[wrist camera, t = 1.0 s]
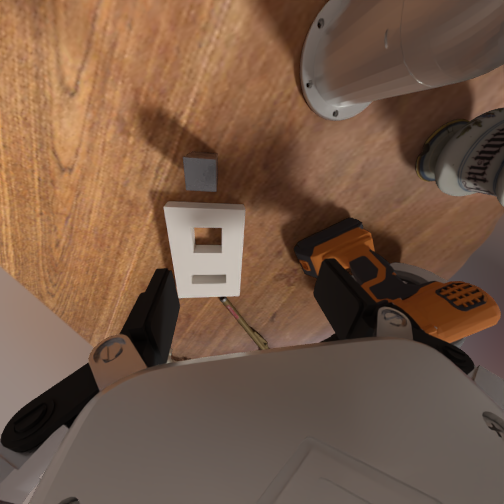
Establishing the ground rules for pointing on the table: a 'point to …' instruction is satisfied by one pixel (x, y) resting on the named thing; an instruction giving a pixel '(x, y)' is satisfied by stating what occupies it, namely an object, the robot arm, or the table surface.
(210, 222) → the hole board
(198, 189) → the square peg
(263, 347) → the olive long knobbed bar
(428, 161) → the apothecary jar
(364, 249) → the power drill
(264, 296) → the table surface
